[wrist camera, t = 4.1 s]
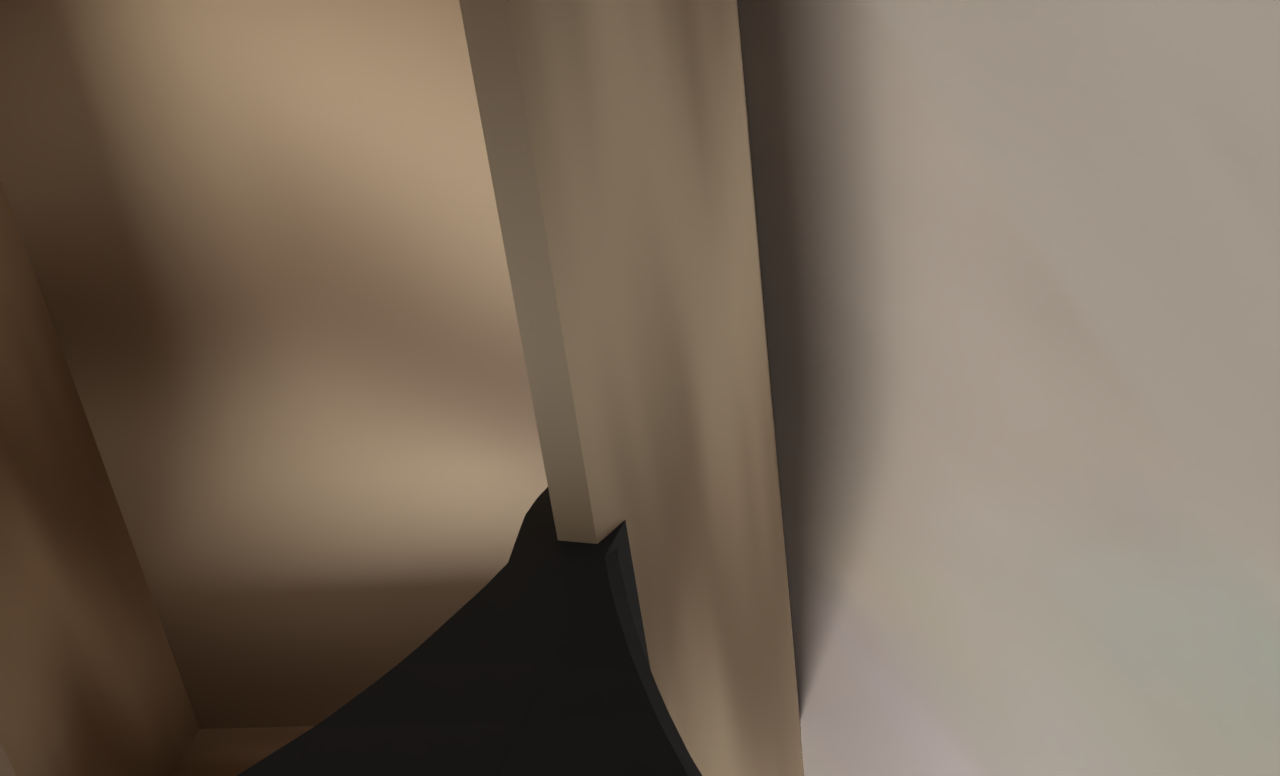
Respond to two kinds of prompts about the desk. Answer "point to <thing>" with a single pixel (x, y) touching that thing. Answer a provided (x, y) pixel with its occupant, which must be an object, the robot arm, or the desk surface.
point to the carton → (242, 371)
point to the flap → (650, 336)
